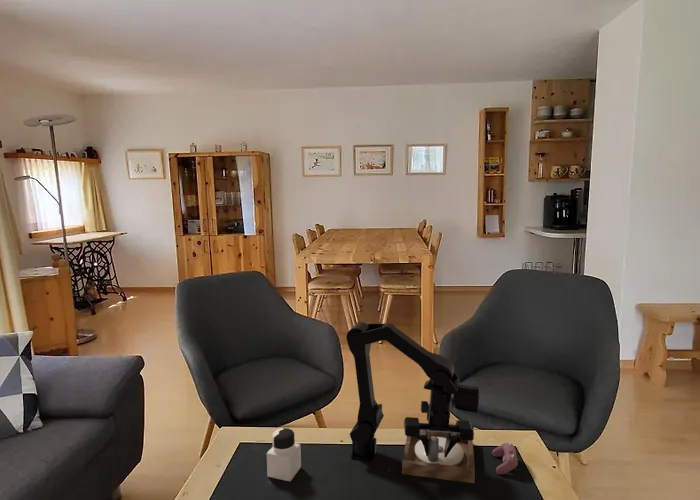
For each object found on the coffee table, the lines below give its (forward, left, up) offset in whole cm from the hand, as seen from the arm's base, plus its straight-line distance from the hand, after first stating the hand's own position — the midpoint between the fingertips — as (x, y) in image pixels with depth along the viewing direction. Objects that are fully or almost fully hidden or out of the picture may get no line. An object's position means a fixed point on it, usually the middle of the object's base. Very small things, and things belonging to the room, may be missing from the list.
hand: (436, 456), depth 128 cm
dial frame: (+1, +4, -3) cm, 6 cm away
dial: (+1, +4, -2) cm, 5 cm away
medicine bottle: (-41, -11, -4) cm, 43 cm away
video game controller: (+19, +5, -4) cm, 20 cm away
